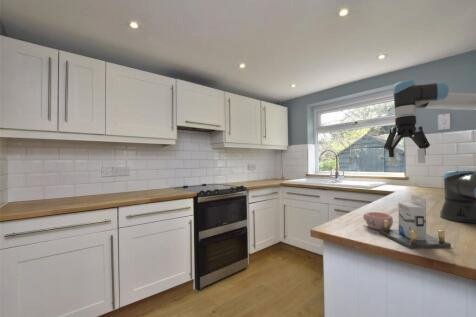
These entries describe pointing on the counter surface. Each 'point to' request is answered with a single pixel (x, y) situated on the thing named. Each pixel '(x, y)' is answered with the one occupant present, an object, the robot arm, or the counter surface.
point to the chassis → (415, 238)
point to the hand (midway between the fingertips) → (407, 163)
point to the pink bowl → (377, 220)
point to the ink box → (413, 217)
